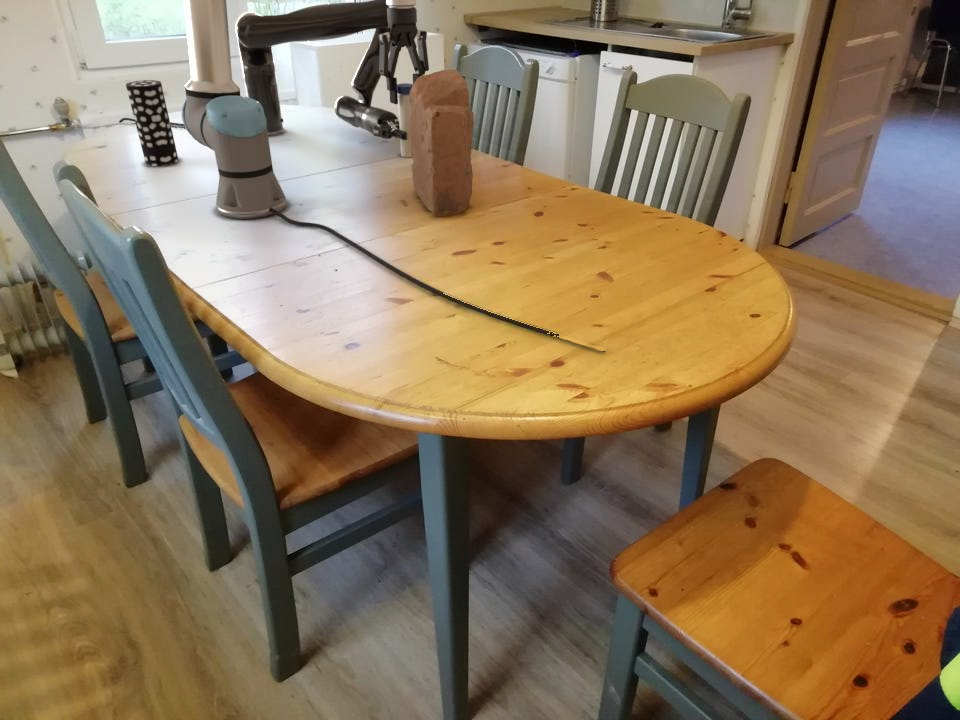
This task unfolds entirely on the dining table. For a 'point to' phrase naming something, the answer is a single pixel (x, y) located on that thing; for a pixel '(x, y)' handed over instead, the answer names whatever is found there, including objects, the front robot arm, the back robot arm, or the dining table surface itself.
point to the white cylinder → (405, 123)
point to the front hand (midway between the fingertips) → (405, 101)
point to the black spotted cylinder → (152, 122)
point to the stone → (441, 141)
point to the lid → (404, 88)
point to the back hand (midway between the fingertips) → (412, 134)
